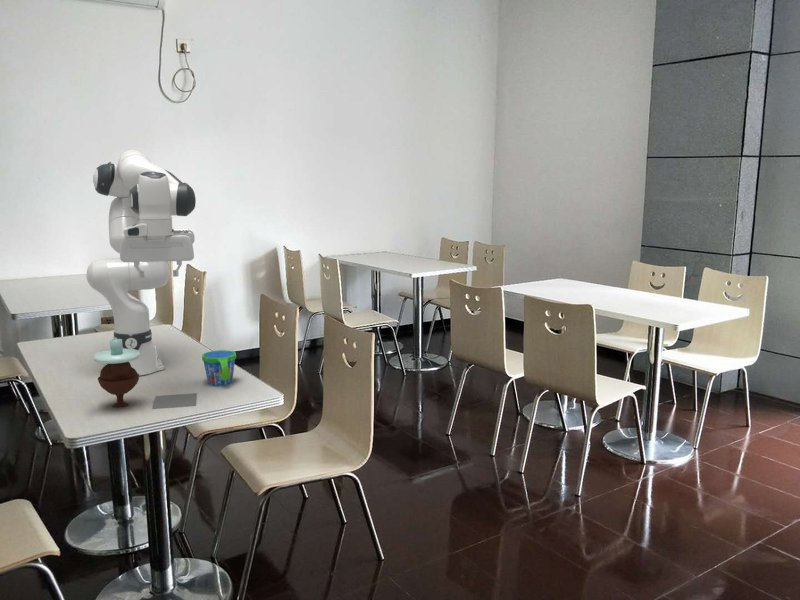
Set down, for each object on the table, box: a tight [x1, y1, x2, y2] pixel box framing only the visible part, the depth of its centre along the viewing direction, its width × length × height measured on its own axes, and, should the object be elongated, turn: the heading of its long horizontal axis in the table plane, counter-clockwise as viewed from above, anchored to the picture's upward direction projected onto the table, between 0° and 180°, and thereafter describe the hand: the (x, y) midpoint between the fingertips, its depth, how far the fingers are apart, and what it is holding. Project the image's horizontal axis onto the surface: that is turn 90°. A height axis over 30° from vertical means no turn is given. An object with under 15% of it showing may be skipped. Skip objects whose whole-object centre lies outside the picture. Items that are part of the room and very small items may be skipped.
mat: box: [151, 392, 198, 410], centre depth 205 cm, size 12×12×1 cm
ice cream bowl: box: [97, 362, 140, 409], centre depth 199 cm, size 11×11×15 cm
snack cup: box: [201, 349, 237, 387], centre depth 222 cm, size 16×10×10 cm
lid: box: [93, 338, 140, 365], centre depth 197 cm, size 12×12×5 cm
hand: (158, 276), depth 202 cm, fingers open, 8 cm apart
